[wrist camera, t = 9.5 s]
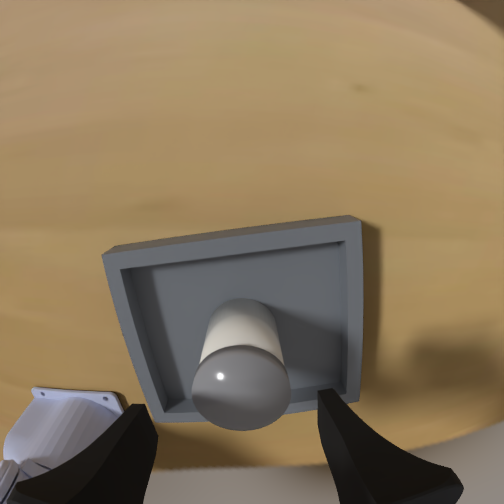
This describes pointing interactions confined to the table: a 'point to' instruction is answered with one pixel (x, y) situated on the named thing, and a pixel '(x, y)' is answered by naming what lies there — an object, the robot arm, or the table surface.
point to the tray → (243, 286)
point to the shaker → (241, 368)
